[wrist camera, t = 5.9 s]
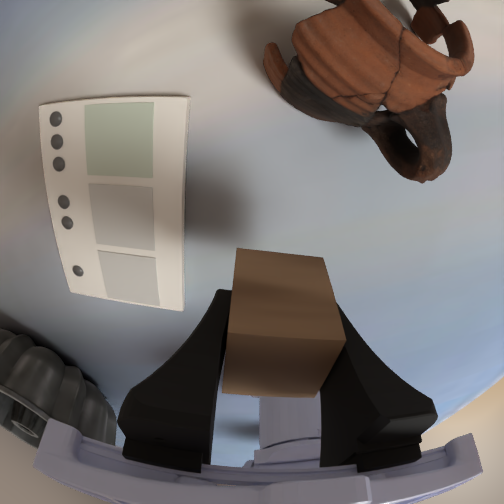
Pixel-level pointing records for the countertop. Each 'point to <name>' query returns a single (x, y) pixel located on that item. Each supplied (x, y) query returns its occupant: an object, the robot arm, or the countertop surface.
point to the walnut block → (281, 326)
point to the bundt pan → (48, 394)
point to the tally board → (119, 195)
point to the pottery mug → (378, 77)
